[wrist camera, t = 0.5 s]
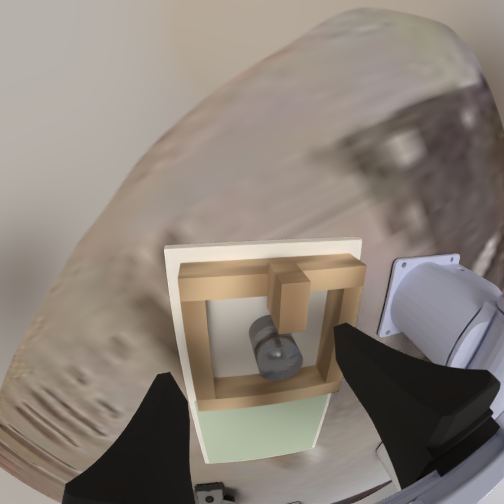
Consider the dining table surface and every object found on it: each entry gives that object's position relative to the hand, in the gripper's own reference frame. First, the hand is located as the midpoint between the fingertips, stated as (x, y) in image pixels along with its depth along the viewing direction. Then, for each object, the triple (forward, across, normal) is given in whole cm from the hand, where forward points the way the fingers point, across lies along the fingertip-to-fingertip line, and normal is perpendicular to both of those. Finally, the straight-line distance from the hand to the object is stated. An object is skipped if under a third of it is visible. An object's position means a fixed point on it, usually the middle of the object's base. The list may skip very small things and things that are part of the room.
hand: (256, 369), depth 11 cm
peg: (+9, -1, +5) cm, 10 cm away
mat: (+9, +2, +18) cm, 20 cm away
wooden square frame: (+9, -1, +5) cm, 10 cm away
